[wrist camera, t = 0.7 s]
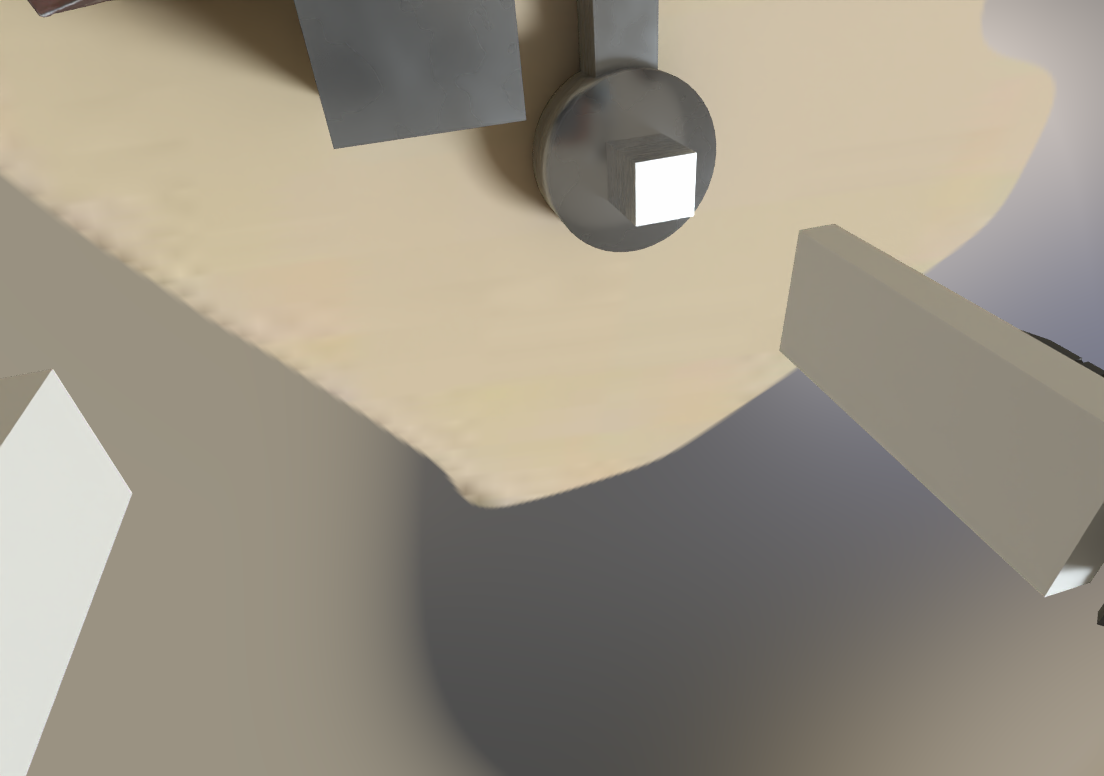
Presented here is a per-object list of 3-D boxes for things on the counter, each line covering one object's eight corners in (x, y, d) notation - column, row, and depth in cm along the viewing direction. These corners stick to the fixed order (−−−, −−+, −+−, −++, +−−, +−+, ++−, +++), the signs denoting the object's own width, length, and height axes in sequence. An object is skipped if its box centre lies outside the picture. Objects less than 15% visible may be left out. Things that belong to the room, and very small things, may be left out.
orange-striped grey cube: (284, -88, 23) (261, -105, 17) (462, -104, 24) (505, -125, 18) (334, 105, 27) (331, 152, 21) (487, 84, 28) (529, 122, 22)
